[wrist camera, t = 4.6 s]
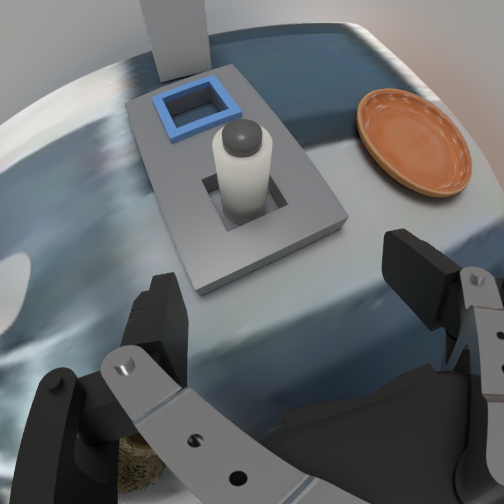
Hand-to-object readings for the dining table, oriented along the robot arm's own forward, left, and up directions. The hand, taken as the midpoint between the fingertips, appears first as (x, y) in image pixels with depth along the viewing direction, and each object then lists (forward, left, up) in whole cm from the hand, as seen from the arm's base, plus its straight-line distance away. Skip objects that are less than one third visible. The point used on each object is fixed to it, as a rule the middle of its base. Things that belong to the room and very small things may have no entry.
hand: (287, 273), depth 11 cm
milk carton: (+5, +35, -14) cm, 38 cm away
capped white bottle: (+3, +10, -14) cm, 17 cm away
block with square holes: (+3, +16, -14) cm, 21 cm away
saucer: (+25, +9, -14) cm, 30 cm away
